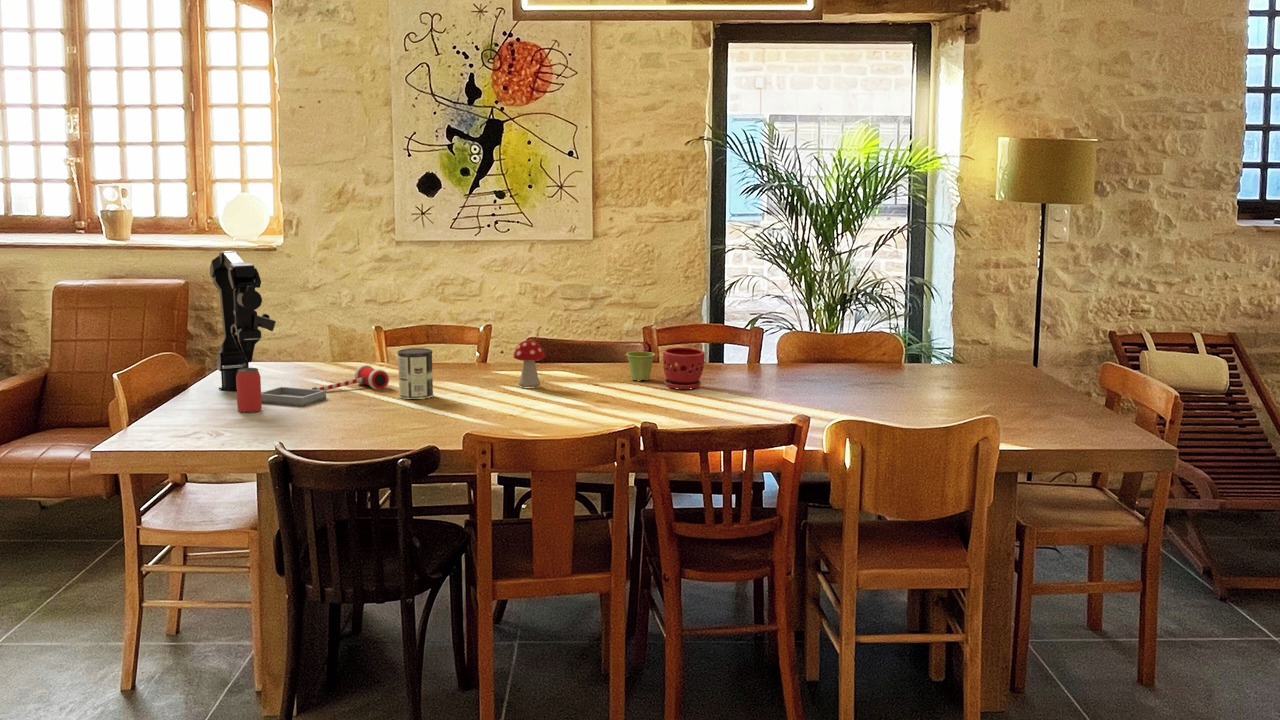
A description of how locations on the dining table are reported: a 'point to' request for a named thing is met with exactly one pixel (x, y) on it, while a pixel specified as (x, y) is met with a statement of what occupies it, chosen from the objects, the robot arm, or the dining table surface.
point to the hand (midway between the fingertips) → (247, 360)
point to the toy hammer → (363, 379)
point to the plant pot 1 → (640, 365)
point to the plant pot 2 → (683, 367)
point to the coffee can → (415, 373)
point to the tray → (292, 396)
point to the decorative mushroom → (529, 362)
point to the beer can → (248, 390)
